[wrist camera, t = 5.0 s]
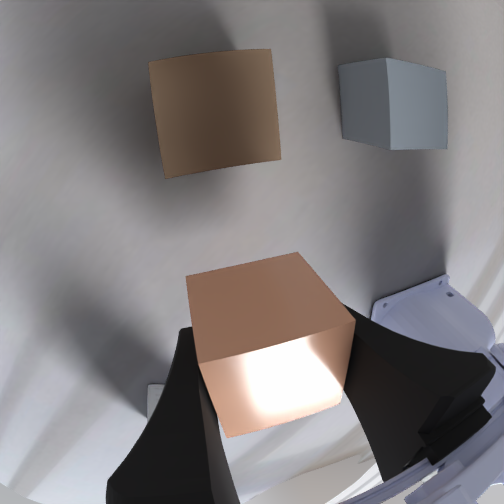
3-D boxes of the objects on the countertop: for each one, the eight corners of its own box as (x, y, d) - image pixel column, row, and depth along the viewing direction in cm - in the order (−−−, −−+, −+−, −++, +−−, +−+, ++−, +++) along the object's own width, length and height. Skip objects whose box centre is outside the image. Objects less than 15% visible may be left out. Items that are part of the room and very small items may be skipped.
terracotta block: (297, 251, 12) (355, 320, 8) (299, 333, 14) (339, 403, 10) (185, 276, 11) (198, 363, 7) (208, 356, 13) (226, 438, 9)
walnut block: (243, 65, 13) (270, 48, 9) (252, 146, 15) (281, 159, 11) (155, 77, 12) (148, 62, 8) (167, 161, 14) (165, 178, 10)
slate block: (394, 72, 15) (445, 71, 11) (397, 136, 17) (447, 149, 13) (336, 65, 14) (385, 57, 10) (342, 138, 16) (390, 150, 12)
